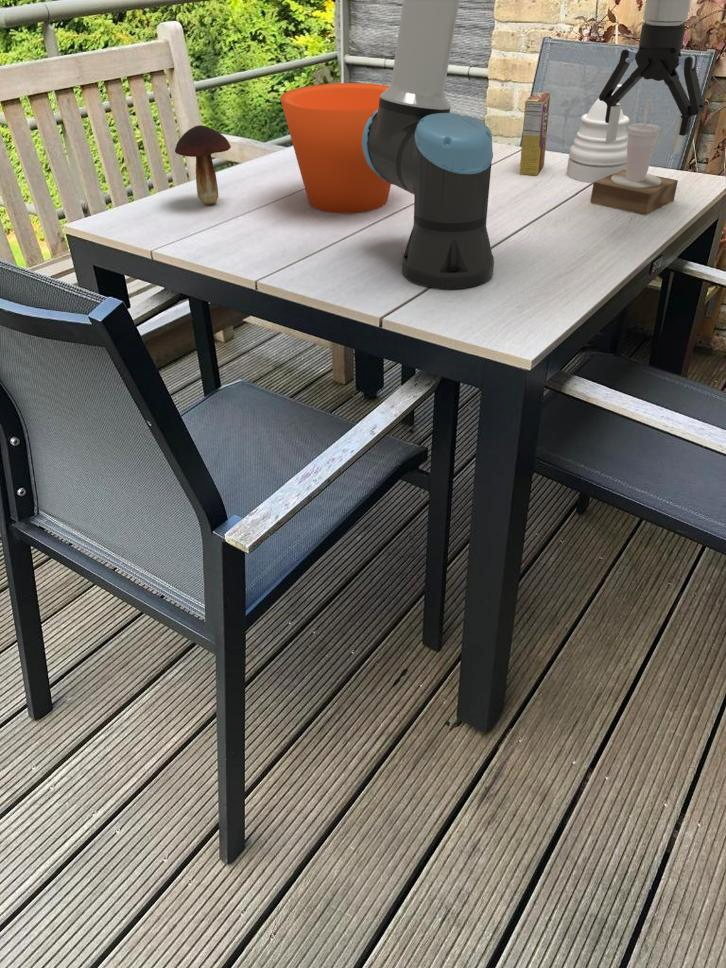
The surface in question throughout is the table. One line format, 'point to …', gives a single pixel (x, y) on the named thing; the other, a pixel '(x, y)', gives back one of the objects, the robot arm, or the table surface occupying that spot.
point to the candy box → (534, 133)
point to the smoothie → (640, 148)
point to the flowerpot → (335, 145)
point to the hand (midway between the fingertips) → (642, 147)
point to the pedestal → (633, 192)
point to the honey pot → (597, 146)
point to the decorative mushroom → (203, 158)
